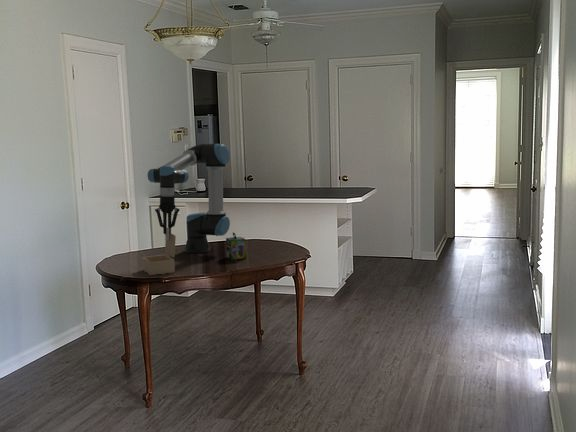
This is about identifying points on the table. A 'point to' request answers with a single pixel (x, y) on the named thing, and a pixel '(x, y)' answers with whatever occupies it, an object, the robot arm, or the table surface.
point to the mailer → (158, 264)
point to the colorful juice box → (236, 247)
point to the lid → (170, 245)
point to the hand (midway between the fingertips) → (167, 240)
